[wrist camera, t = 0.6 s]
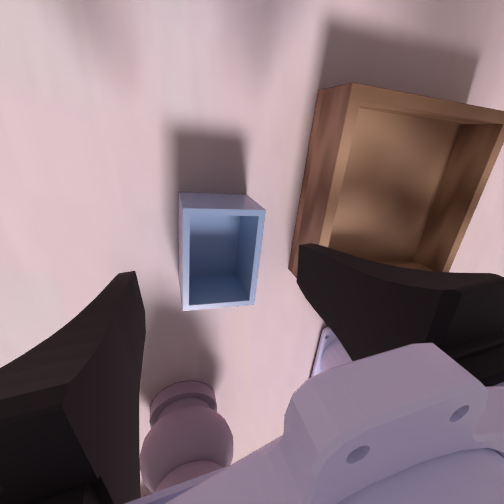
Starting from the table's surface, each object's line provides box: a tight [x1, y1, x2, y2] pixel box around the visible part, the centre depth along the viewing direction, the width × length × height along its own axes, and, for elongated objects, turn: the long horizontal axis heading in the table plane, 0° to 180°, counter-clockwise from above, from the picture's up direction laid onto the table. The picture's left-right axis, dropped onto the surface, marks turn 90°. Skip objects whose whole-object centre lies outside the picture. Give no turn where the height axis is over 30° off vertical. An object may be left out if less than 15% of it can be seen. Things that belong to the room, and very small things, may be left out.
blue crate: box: [179, 192, 266, 311], centre depth 20 cm, size 7×5×4 cm
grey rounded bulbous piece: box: [140, 381, 233, 493], centre depth 23 cm, size 8×8×12 cm
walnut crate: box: [288, 83, 504, 278], centre depth 22 cm, size 14×14×4 cm
